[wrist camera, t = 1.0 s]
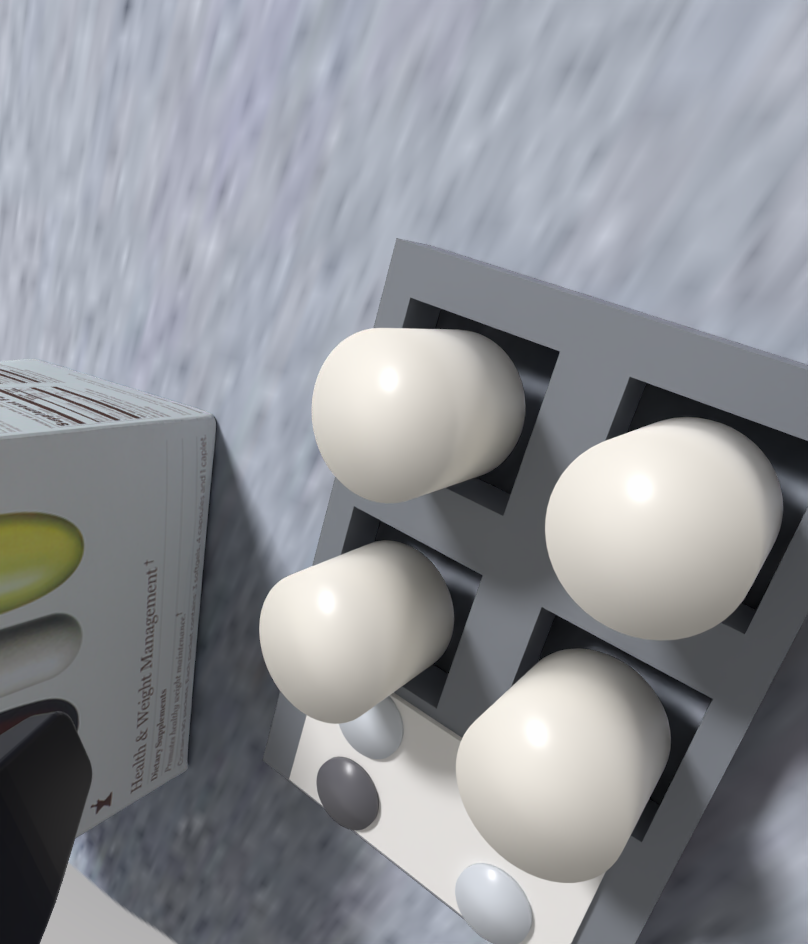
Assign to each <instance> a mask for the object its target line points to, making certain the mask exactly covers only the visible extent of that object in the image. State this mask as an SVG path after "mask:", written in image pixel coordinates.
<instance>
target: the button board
mask: <svg viewBox="0 0 808 944" xmlns="http://www.w3.org/2000/svg"><path fill="white" fill-rule="evenodd" d="M440 309H444V310H446V311H449V312H452V313H455V314H457V315H460V316H463V317H466V318H469V319H471V320H474V321H477V322H480V323H482V324H485V325H488V326H491V327H493V328H496V329H499V330H502V331H505V332H507V333H510V334H513V335H516V336H518V337H521V338H524V339H527V340H530V341H532V342H535V343H538V344H541V345H543V346H546V347H549V348H552V349H554V350H557V351H560V353H559V356H558V359H557V362H556V365H555V368H554V371H553V374H552V377H551V379H550V382H549V385H548V388H547V391H546V394H545V397H544V400H543V403H542V405H541V408H540V411H539V414H538V417H537V420H536V423H535V426H534V429H533V431H532V434H531V437H530V440H529V443H528V446H527V449H526V452H525V455H524V457H523V460H522V463H521V466H520V469H519V472H518V475H517V478H516V481H515V483H514V486H513V489H512V492H511V494H509V493H507V492H504V491H502V490H500V489H498V488H496V487H494V486H492V485H490V484H487V483H485V482H483V481H481V480H479V479H477V478H472V479H469V480H467V481H464V482H461V483H458V484H455V485H452V486H449V487H446V488H443V489H440V490H437V491H434V492H431V493H428V494H425V495H422V496H419V497H416V498H413V499H411V500H408V501H404V502H399V503H379V502H374V501H370V500H367V499H365V498H363V497H360V496H358V495H357V494H355V493H353V492H352V491H350V490H349V489H348V488H347V487H345V486H344V485H343V484H342V483H341V482H340V481H339V480H338V479H337V478H336V477H335V480H334V484H333V488H332V491H331V495H330V499H329V503H328V507H327V511H326V515H325V519H324V522H323V526H322V530H321V534H320V538H319V542H318V546H317V550H316V554H315V557H314V561H313V565H312V566H314V565H317V564H319V563H322V562H324V561H327V560H329V559H332V558H334V557H337V556H339V555H342V554H344V553H347V552H349V551H352V550H354V549H357V548H360V547H362V546H365V545H367V544H370V543H373V542H374V541H375V537H376V534H377V530H378V527H379V523H380V520H381V521H383V522H384V523H386V524H388V525H390V526H392V527H394V528H396V529H398V530H399V531H401V532H403V533H405V534H407V535H409V536H411V537H412V538H414V539H416V540H418V541H420V542H422V543H424V544H425V545H427V546H429V547H431V548H433V549H435V550H437V551H438V552H440V553H442V554H444V555H446V556H448V557H450V558H452V559H453V560H455V561H457V562H459V563H461V564H463V565H465V566H466V567H468V568H470V569H472V570H474V571H476V572H478V573H479V574H481V575H483V576H482V579H481V582H480V585H479V587H478V590H477V593H476V596H475V599H474V602H473V605H472V608H471V611H470V613H469V616H468V619H467V622H466V625H465V628H464V631H463V634H462V637H461V640H460V642H459V645H458V648H457V651H456V654H455V657H454V660H453V663H452V666H451V668H450V671H449V674H447V673H445V672H444V671H442V670H441V669H439V668H437V667H436V666H434V665H433V664H432V665H431V666H429V667H428V668H427V669H425V670H424V671H423V672H421V673H420V674H418V675H417V676H416V677H414V678H413V679H411V680H410V681H409V682H407V683H406V684H405V685H403V686H402V687H400V688H399V689H398V690H396V691H395V692H393V693H392V694H391V695H389V696H388V697H387V698H385V699H384V700H382V701H381V702H380V703H378V704H377V705H375V706H374V707H373V708H371V709H370V710H368V711H367V712H366V713H364V714H363V715H362V716H360V717H358V718H357V719H355V720H353V721H350V722H347V723H341V724H331V723H325V722H321V721H318V720H315V719H313V718H311V717H309V716H307V715H306V714H304V713H303V712H301V711H300V710H299V709H297V708H296V707H295V706H294V705H293V704H292V703H291V702H290V701H289V700H288V699H287V698H286V697H285V696H284V695H283V694H282V692H281V691H280V693H279V697H278V701H277V705H276V709H275V713H274V717H273V721H272V725H271V728H270V732H269V736H268V740H267V744H266V748H265V752H264V756H263V761H264V762H265V763H266V764H268V765H269V766H270V767H271V768H273V769H274V770H275V771H276V772H278V773H279V774H280V775H282V776H283V777H284V778H285V779H287V780H288V781H289V782H290V783H292V784H293V785H294V786H295V787H297V788H298V789H299V790H301V791H302V792H303V793H304V794H306V795H307V796H308V797H309V798H311V799H312V800H313V801H315V802H316V803H317V804H318V805H320V806H321V807H322V808H323V809H325V810H326V812H327V813H328V814H329V815H330V817H331V818H332V819H333V820H334V821H336V822H337V823H338V824H339V825H341V826H343V827H345V828H347V829H350V830H351V831H353V832H354V833H355V834H356V835H358V836H359V837H360V838H361V839H363V840H364V841H365V842H366V843H368V844H369V845H370V846H372V847H373V848H374V849H375V850H377V851H378V852H379V853H380V854H382V855H383V856H384V857H385V858H387V859H388V860H389V861H391V862H392V863H393V864H394V865H396V866H397V867H398V868H399V869H401V870H402V871H403V872H405V873H406V874H407V875H408V876H410V877H411V878H412V879H413V880H415V881H416V882H417V883H418V884H420V885H421V886H422V887H424V888H425V889H426V890H427V891H429V892H430V893H431V894H432V895H434V896H435V897H436V898H437V899H439V900H440V901H441V902H443V903H444V904H445V905H446V906H448V907H449V908H450V909H451V910H453V911H454V912H455V913H456V914H458V915H459V916H460V917H462V918H463V919H464V920H465V921H466V922H467V923H468V925H469V926H470V927H471V928H472V929H473V930H474V931H475V932H476V933H477V934H478V935H479V936H481V937H482V938H484V939H485V940H487V941H489V942H491V943H493V944H635V943H636V941H637V939H638V937H639V935H640V933H641V931H642V929H643V927H644V926H645V924H646V922H647V920H648V918H649V916H650V914H651V912H652V910H653V908H654V906H655V904H656V903H657V901H658V899H659V897H660V895H661V893H662V891H663V889H664V887H665V885H666V883H667V882H668V880H669V878H670V876H671V874H672V872H673V870H674V868H675V866H676V864H677V862H678V861H679V859H680V857H681V855H682V853H683V851H684V849H685V847H686V845H687V843H688V841H689V839H690V838H691V836H692V834H693V832H694V830H695V828H696V826H697V824H698V822H699V820H700V818H701V817H702V815H703V813H704V811H705V809H706V807H707V805H708V803H709V801H710V799H711V797H712V796H713V794H714V792H715V790H716V788H717V786H718V784H719V782H720V780H721V778H722V776H723V775H724V773H725V771H726V769H727V767H728V765H729V763H730V761H731V759H732V757H733V755H734V753H735V752H736V750H737V748H738V746H739V744H740V742H741V740H742V738H743V736H744V734H745V732H746V731H747V729H748V727H749V725H750V723H751V721H752V719H753V717H754V715H755V713H756V711H757V710H758V708H759V706H760V704H761V702H762V700H763V698H764V696H765V694H766V692H767V690H768V688H769V687H770V685H771V683H772V681H773V679H774V677H775V675H776V673H777V671H778V669H779V667H780V666H781V664H782V662H783V660H784V658H785V656H786V654H787V652H788V650H789V648H790V646H791V645H792V643H793V641H794V639H795V637H796V635H797V633H798V631H799V629H800V627H801V625H802V623H803V622H804V620H805V618H806V616H807V614H808V507H807V509H806V511H805V513H804V515H803V517H802V519H801V521H800V523H799V525H798V527H797V529H796V531H795V533H794V535H793V537H792V539H791V541H790V543H789V545H788V547H787V549H786V551H785V553H784V555H783V557H782V559H781V561H780V563H779V565H778V567H777V569H776V571H775V573H774V575H773V577H772V579H771V581H770V583H769V586H768V588H767V590H766V592H765V594H764V596H763V598H762V600H761V602H760V604H759V606H758V608H757V610H755V609H753V608H751V607H748V606H746V605H744V604H742V603H741V604H740V605H739V606H738V607H737V609H736V610H735V611H734V612H733V613H732V614H730V615H729V616H728V617H727V618H726V619H725V620H723V621H722V622H721V623H719V624H718V625H716V626H715V627H713V628H711V629H709V630H707V631H705V632H703V633H700V634H697V635H694V636H691V637H688V638H682V639H677V640H662V641H660V640H646V639H641V638H636V637H632V636H629V635H626V634H623V633H620V632H618V631H615V630H613V629H611V628H609V627H607V626H605V625H603V624H602V623H600V622H598V621H597V620H595V619H594V618H593V617H591V616H590V615H589V614H587V613H586V612H585V611H584V610H583V609H582V608H581V607H580V606H579V605H578V604H577V603H575V601H574V600H573V599H572V598H571V597H570V595H569V594H568V593H567V592H566V590H565V589H564V587H563V586H562V584H561V583H560V581H559V579H558V577H557V575H556V573H555V571H554V569H553V566H552V563H551V561H550V558H549V554H548V550H547V545H546V536H545V519H546V512H547V507H548V503H549V500H550V496H551V494H552V492H553V489H554V487H555V485H556V483H557V481H558V480H559V478H560V477H561V475H562V473H563V472H564V471H565V470H566V469H567V467H568V466H569V465H570V464H571V463H572V462H573V461H574V460H575V459H576V458H577V457H578V456H580V455H581V454H582V453H584V452H585V451H587V450H588V449H590V448H591V447H593V446H595V445H597V444H599V443H601V442H604V441H606V440H609V439H612V438H615V437H617V436H620V435H623V434H625V433H627V431H628V429H629V426H630V423H631V421H632V418H633V416H634V413H635V411H636V408H637V406H638V403H639V400H640V398H641V395H642V393H643V390H644V388H645V385H646V383H649V384H651V385H654V386H657V387H660V388H663V389H665V390H668V391H671V392H674V393H676V394H679V395H682V396H685V397H688V398H690V399H693V400H696V401H699V402H701V403H704V404H707V405H710V406H712V407H715V408H718V409H721V410H724V411H726V412H729V413H732V414H735V415H737V416H740V417H743V418H746V419H748V420H751V421H754V422H757V423H760V424H762V425H765V426H768V427H771V428H773V429H776V430H779V431H782V432H785V433H787V434H790V435H793V436H796V437H798V438H801V439H804V440H807V441H808V365H806V364H803V363H799V362H796V361H793V360H790V359H787V358H784V357H781V356H777V355H774V354H771V353H768V352H765V351H762V350H759V349H755V348H752V347H749V346H746V345H743V344H740V343H737V342H733V341H730V340H727V339H724V338H721V337H718V336H714V335H711V334H708V333H705V332H702V331H699V330H696V329H692V328H689V327H686V326H683V325H680V324H677V323H674V322H670V321H667V320H664V319H661V318H658V317H655V316H651V315H648V314H645V313H642V312H639V311H636V310H633V309H629V308H626V307H623V306H620V305H617V304H614V303H611V302H607V301H604V300H601V299H598V298H595V297H592V296H589V295H585V294H582V293H579V292H576V291H573V290H570V289H566V288H563V287H560V286H557V285H554V284H551V283H548V282H544V281H541V280H538V279H535V278H532V277H529V276H526V275H522V274H519V273H516V272H513V271H510V270H507V269H503V268H500V267H497V266H494V265H491V264H488V263H485V262H481V261H478V260H475V259H472V258H469V257H466V256H463V255H459V254H456V253H453V252H450V251H447V250H444V249H441V248H437V247H434V246H431V245H427V244H422V243H417V242H412V241H407V240H402V239H398V238H397V239H396V243H395V247H394V250H393V254H392V258H391V262H390V266H389V270H388V274H387V278H386V282H385V285H384V289H383V293H382V297H381V301H380V305H379V309H378V313H377V317H376V320H375V324H374V328H409V329H435V327H436V324H437V320H438V316H439V313H440ZM555 615H558V616H559V617H561V618H563V619H565V620H567V621H569V622H571V623H572V624H574V625H576V626H578V627H580V628H582V629H584V630H586V631H587V632H589V633H591V634H593V635H595V636H597V637H599V638H600V639H602V640H604V641H606V642H608V643H610V644H612V645H613V646H615V647H617V648H619V649H621V650H623V651H625V652H626V653H628V654H630V655H632V656H634V657H636V658H638V659H640V660H641V661H643V662H645V663H647V664H649V665H651V666H653V667H654V668H656V669H658V670H660V671H662V672H664V673H666V674H667V675H669V676H671V677H673V678H675V679H677V680H679V681H680V682H682V683H684V684H686V685H688V686H690V687H692V688H693V689H695V690H697V691H699V692H701V693H703V694H705V695H707V696H708V697H710V698H712V701H711V703H710V705H709V707H708V709H707V711H706V713H705V715H704V717H703V719H702V721H701V723H700V725H699V727H698V729H697V731H696V733H695V735H694V737H693V739H692V741H691V743H690V745H689V747H688V749H687V751H686V753H685V755H684V757H683V759H682V761H681V763H680V765H679V767H678V769H677V771H676V773H675V775H674V777H673V779H672V781H671V783H670V785H669V787H668V789H667V791H666V793H665V795H664V797H663V800H662V802H661V804H660V806H659V805H658V804H656V803H655V802H653V801H651V800H650V799H649V800H648V802H647V804H646V806H645V808H644V810H643V812H642V814H641V816H640V818H639V820H638V822H637V824H636V826H635V828H634V830H633V832H632V834H631V836H630V837H629V839H628V841H627V843H626V845H625V847H624V849H623V851H622V853H621V855H620V856H619V858H618V860H617V861H616V862H615V863H614V864H613V865H612V867H611V868H609V869H608V870H607V871H606V872H604V873H603V874H601V875H599V876H597V877H596V878H594V879H590V880H587V881H584V882H577V883H559V882H552V881H548V880H544V879H541V878H538V877H535V876H533V875H530V874H528V873H526V872H524V871H522V870H520V869H519V868H517V867H516V866H514V865H512V864H511V863H509V862H508V861H507V860H505V859H504V858H503V857H502V856H500V855H499V854H498V853H497V852H496V851H495V850H494V849H493V848H492V847H491V846H490V845H489V844H488V843H487V842H486V841H485V839H484V838H483V837H482V836H481V834H480V833H479V832H478V830H477V829H476V827H475V826H474V824H473V823H472V821H471V819H470V818H469V816H468V814H467V811H466V809H465V807H464V805H463V802H462V799H461V796H460V793H459V789H458V784H457V777H456V759H457V752H458V749H459V745H460V742H461V740H462V738H463V736H464V734H465V733H466V731H467V730H468V728H469V727H470V726H471V725H472V724H473V723H474V722H475V720H477V719H478V718H479V717H480V716H481V715H482V714H483V713H484V712H485V711H486V710H487V709H488V708H489V707H490V706H492V705H493V704H494V703H495V702H496V701H497V700H498V699H499V698H500V697H501V696H502V695H503V694H504V693H505V692H506V691H508V690H509V689H510V688H511V687H512V686H513V685H514V684H515V683H516V682H517V681H518V680H519V679H520V678H521V677H523V676H524V675H525V674H526V673H527V672H528V671H529V670H530V669H531V668H532V667H533V666H534V665H535V664H536V663H537V661H538V659H539V656H540V653H541V651H542V648H543V646H544V643H545V641H546V638H547V636H548V633H549V630H550V628H551V625H552V623H553V620H554V618H555Z"/></svg>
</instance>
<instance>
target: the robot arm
mask: <svg viewBox="0 0 808 944" xmlns="http://www.w3.org/2000/svg"><path fill="white" fill-rule="evenodd" d="M91 783H92V766H91V762H90V759H89V757H88V755H87V753H86V750H85V748H84V746H83V743H82V741H81V739H80V737H79V734H78V732H77V730H76V728H75V725H74V723H73V721H72V719H71V717H70V716H69V715H68V714H66V713H64V712H62V711H55V712H49V713H43V714H38V715H33V716H30V717H28V718H27V719H25V720H23V721H22V722H20V723H19V724H17V725H15V726H14V727H12V728H11V729H9V730H8V731H6V732H4V733H3V734H1V735H0V944H40V941H41V939H42V936H43V934H44V932H45V929H46V927H47V924H48V921H49V919H50V916H51V913H52V911H53V908H54V905H55V903H56V900H57V896H58V893H59V890H60V887H61V884H62V881H63V878H64V874H65V871H66V868H67V864H68V861H69V858H70V854H71V851H72V847H73V844H74V841H75V837H76V834H77V831H78V827H79V824H80V821H81V817H82V814H83V810H84V807H85V804H86V800H87V797H88V794H89V790H90V787H91Z"/></svg>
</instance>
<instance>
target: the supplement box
mask: <svg viewBox="0 0 808 944" xmlns="http://www.w3.org/2000/svg"><path fill="white" fill-rule="evenodd" d="M215 433H216V421H215V418H214V416H213V415H212V414H210V413H208V412H206V411H203V410H200V409H197V408H194V407H191V406H188V405H185V404H181V403H178V402H175V401H172V400H168V399H165V398H162V397H158V396H155V395H152V394H149V393H145V392H142V391H139V390H136V389H133V388H129V387H126V386H122V385H119V384H116V383H113V382H109V381H106V380H103V379H100V378H97V377H93V376H90V375H87V374H83V373H80V372H77V371H74V370H70V369H67V368H64V367H60V366H57V365H54V364H50V363H47V362H43V361H40V360H37V359H22V360H11V361H0V735H1V734H3V733H4V732H6V731H8V730H9V729H11V728H12V727H14V726H15V725H17V724H19V723H20V722H22V721H23V720H25V719H27V718H28V717H30V716H33V715H38V714H43V713H49V712H55V711H62V712H64V713H66V714H68V715H69V716H70V717H71V719H72V721H73V723H74V725H75V728H76V730H77V732H78V734H79V737H80V739H81V741H82V743H83V746H84V748H85V750H86V753H87V755H88V757H89V759H90V762H91V766H92V783H91V787H90V790H89V794H88V797H87V800H86V804H85V807H84V810H83V814H82V817H81V821H80V824H79V827H78V831H77V834H76V837H75V838H77V837H79V836H80V835H82V834H84V833H85V832H87V831H89V830H90V829H92V828H94V827H95V826H97V825H98V824H100V823H102V822H103V821H105V820H106V819H108V818H110V817H111V816H113V815H114V814H116V813H118V812H119V811H121V810H123V809H124V808H126V807H128V806H129V805H131V804H132V803H134V802H136V801H137V800H139V799H140V798H142V797H144V796H145V795H147V794H149V793H150V792H152V791H154V790H155V789H157V788H158V787H160V786H162V785H163V784H165V783H166V782H168V781H170V780H171V779H173V778H175V777H177V776H178V775H180V774H182V773H183V772H185V771H186V770H187V769H188V763H187V755H188V742H189V729H190V717H191V704H192V691H193V679H194V667H195V655H196V644H197V632H198V621H199V609H200V598H201V586H202V575H203V563H204V552H205V541H206V530H207V519H208V508H209V497H210V486H211V476H212V466H213V456H214V447H215Z"/></svg>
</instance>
